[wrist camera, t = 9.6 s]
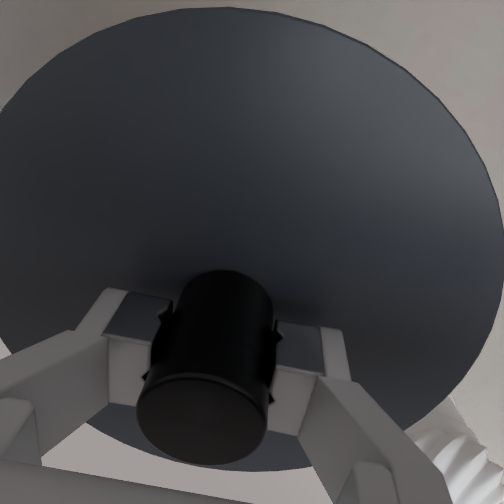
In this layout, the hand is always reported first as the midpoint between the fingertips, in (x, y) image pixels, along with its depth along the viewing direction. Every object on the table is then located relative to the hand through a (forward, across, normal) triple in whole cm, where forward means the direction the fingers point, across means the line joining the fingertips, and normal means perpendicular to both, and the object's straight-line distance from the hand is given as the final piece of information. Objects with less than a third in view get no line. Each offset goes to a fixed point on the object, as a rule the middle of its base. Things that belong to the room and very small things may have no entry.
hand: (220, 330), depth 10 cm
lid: (+2, 0, 0) cm, 2 cm away
